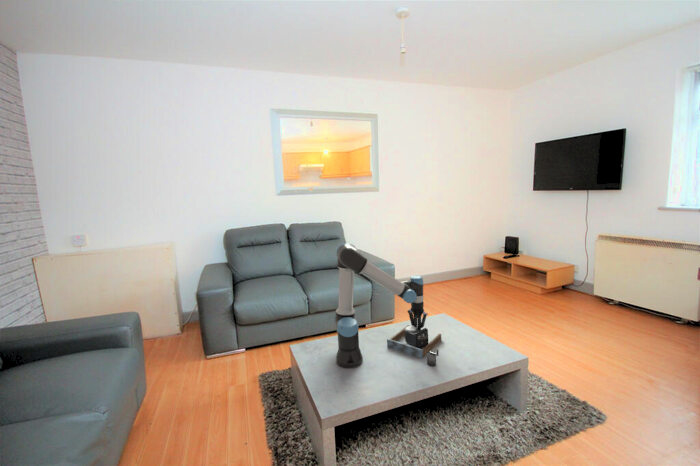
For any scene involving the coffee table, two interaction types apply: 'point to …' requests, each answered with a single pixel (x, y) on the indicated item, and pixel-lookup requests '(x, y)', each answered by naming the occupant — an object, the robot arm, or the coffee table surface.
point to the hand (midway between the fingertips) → (417, 337)
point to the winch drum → (431, 358)
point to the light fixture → (416, 337)
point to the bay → (410, 349)
